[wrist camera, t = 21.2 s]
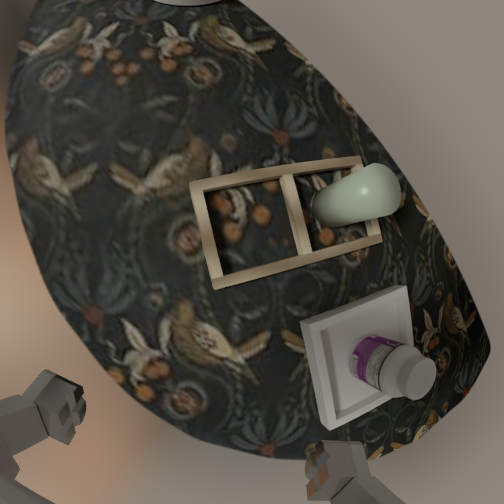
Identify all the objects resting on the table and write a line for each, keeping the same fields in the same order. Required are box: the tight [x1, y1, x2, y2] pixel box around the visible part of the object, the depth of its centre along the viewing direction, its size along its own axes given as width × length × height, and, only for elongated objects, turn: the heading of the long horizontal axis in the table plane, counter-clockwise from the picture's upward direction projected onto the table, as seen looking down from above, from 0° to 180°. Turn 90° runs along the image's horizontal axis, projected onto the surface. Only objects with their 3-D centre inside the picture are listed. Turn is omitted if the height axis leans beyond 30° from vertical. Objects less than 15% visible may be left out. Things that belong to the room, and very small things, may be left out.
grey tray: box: [300, 285, 414, 431], centre depth 31 cm, size 13×13×2 cm
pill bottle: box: [347, 334, 436, 400], centre depth 26 cm, size 5×5×10 cm
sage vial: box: [312, 163, 401, 228], centre depth 27 cm, size 4×4×9 cm
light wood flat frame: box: [189, 156, 383, 290], centre depth 30 cm, size 10×19×1 cm, turn 104°
